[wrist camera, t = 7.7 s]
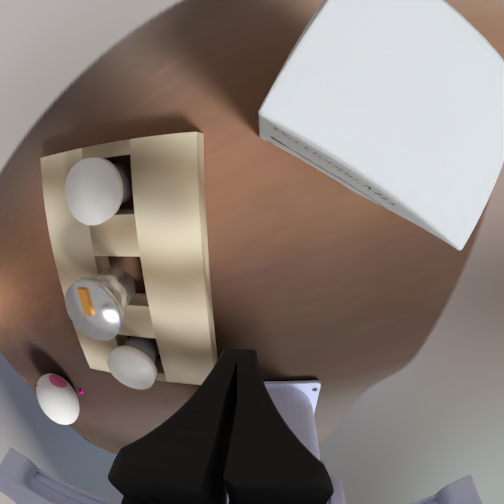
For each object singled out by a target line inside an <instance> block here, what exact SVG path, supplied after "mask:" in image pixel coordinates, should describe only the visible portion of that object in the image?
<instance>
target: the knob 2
mask: <svg viewBox="0 0 504 504" xmlns="http://www.w3.org/2000/svg"><path fill="white" fill-rule="evenodd" d="M158 354H159V350H158V345H157V341H156V339H155V338H145V337H136V336H130V337H129V339H128V340H127V342H126V344H125V345H124V346H118V347H116V348H114V349H113V351H112V352H111V354H110V355H109V357H108V359H107V365H108V368H109V370H110V372H111V373H112V375H113V376H114V377H115V378H116V379H117V380H118V381H120V382H121V383H123V384H124V385H126V386H128V387H131V388H134V389H148V388H150V387H151V386H152V385H153V383H154V381H155V378H156V376H157V369H156V366H155V364H154V363H155V361H156V359H157V357H158Z"/></svg>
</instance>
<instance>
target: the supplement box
mask: <svg viewBox="0 0 504 504" xmlns="http://www.w3.org/2000/svg"><path fill="white" fill-rule="evenodd" d="M258 115H259V137H260V138H261V139H263V140H265V141H267V142H269V143H271V144H273V145H275V146H277V147H279V148H281V149H282V150H284V151H286V152H288V153H290V154H291V155H293V156H295V157H297V158H299V159H300V160H302V161H304V162H306V163H307V164H309V165H311V166H313V167H314V168H316V169H318V170H319V171H321V172H323V173H324V174H326V175H328V176H329V177H331V178H333V179H334V180H336V181H338V182H339V183H341V184H342V185H344V186H345V187H347V188H348V189H350V190H352V191H354V192H356V193H358V194H360V195H362V196H364V197H366V198H367V199H369V200H371V201H373V202H375V203H377V204H379V205H381V206H383V207H384V208H386V209H388V210H390V211H392V212H394V213H396V214H398V215H400V216H401V217H403V218H405V219H407V220H409V221H411V222H413V223H415V224H416V225H418V226H420V227H422V228H423V229H425V230H427V231H428V232H430V233H432V234H433V235H435V236H437V237H438V238H440V239H442V240H443V241H445V242H447V243H448V244H450V245H451V246H453V247H454V248H456V249H457V250H462V249H463V247H464V245H465V243H466V242H467V240H468V238H469V236H470V235H471V233H472V231H473V229H474V227H475V225H476V223H477V221H478V219H479V218H480V216H481V214H482V211H483V209H484V207H485V205H486V203H487V201H488V199H489V196H490V194H491V192H492V189H493V187H494V185H495V183H496V180H497V177H498V175H499V172H500V170H501V167H502V165H503V162H504V60H503V59H502V57H501V56H500V55H499V54H498V53H497V51H496V50H495V49H494V48H493V47H492V46H491V45H490V44H489V42H488V41H487V40H486V39H485V38H484V37H483V36H482V35H481V34H480V33H479V32H478V31H477V30H476V29H475V28H474V27H473V26H472V25H471V24H470V23H469V22H468V21H467V20H466V19H465V18H464V17H463V16H462V15H461V14H460V13H459V12H458V11H456V10H455V9H454V8H453V7H452V6H451V5H449V4H448V3H447V2H446V1H444V0H323V1H322V3H321V4H320V6H319V7H318V9H317V10H316V12H315V13H314V15H313V17H312V18H311V20H310V21H309V23H308V24H307V26H306V28H305V29H304V31H303V33H302V34H301V36H300V37H299V39H298V41H297V42H296V44H295V46H294V47H293V49H292V51H291V53H290V54H289V56H288V58H287V60H286V61H285V63H284V65H283V67H282V69H281V70H280V72H279V74H278V76H277V78H276V80H275V81H274V83H273V85H272V87H271V89H270V91H269V93H268V94H267V96H266V98H265V100H264V102H263V103H262V105H261V107H260V109H259V111H258Z"/></svg>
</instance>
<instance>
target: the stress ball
mask: <svg viewBox="0 0 504 504" xmlns="http://www.w3.org/2000/svg"><path fill="white" fill-rule="evenodd" d="M35 386H37V388H36V393H37V398H38V401H39V404H40V406H41V408H42V410H43V411H44V412H45V414H46V415H47V416H48V417H49V418H50V419H52V420H53V421H55V422H57V423H59V424H64V425H68V424H71V423H73V422H74V421H75V420H76V419H77V417H78V415H79V401H78V398H77V394H76V393H75V391H74V389H73V388H72V386H71V385H70V384H69V383H68V382H67V381H66V380H65V379H64V378H62V377H61V376H59V375H57V374H53V373H48V374H45V375H43V376H42V377H41V378H40V379H39V381H38V383H37V385H35ZM78 394H84V393H83V391H82V389H81V391H80V392H79V393H78Z"/></svg>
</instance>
